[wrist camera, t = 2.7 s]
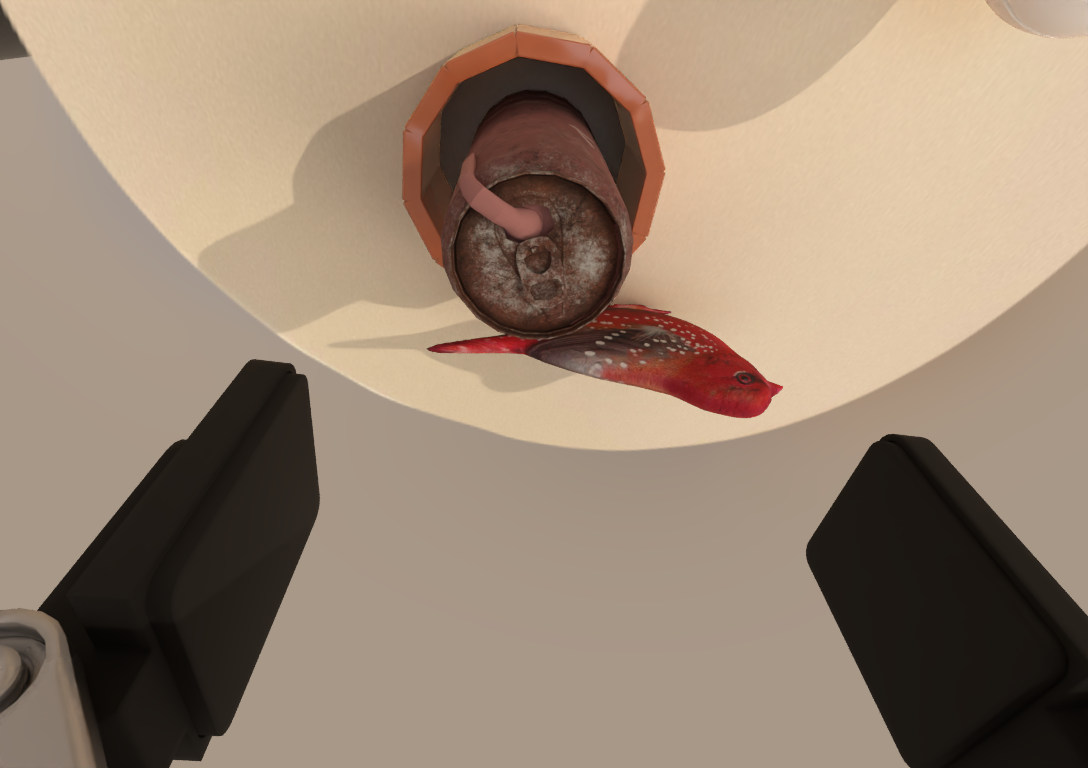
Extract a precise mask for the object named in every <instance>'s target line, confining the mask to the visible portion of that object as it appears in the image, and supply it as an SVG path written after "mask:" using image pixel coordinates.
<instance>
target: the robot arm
mask: <svg viewBox="0 0 1088 768" xmlns="http://www.w3.org/2000/svg"><path fill="white" fill-rule="evenodd" d="M319 495H320V494H319V486H318V476H317V466H316V456H315V447H314V437H313V427H312V418H311V408H310V398H309V389H308V381H307V378H306V376H305V375H303V374H296V370H295V368H294V366H293V365H292V364H290V363H282V362H273V361H264V360H256V359H253V360H250V361H249V362H248V363H246V365H245V366H244V367H243V368H242V370H241V371H240V372H239V374H238V375H237V376H236V378H235V379H234V380H233V381H232V383H231V384H230V385H229V387H228V388H227V389H226V390H225V392H224V393H223V394H222V395H221V397H220V398H219V399H218V400H217V402H216V403H215V405H214V406H213V407H212V408H211V409H210V411H209V412H208V413H207V415H206V416H205V417H204V419H203V420H202V421H201V422H200V424H199V425H198V426H197V427H196V429H195V430H194V431H193V433H192V434H191V435H190V436H189V438H188V439H187V440H183V439H182V440H180V441H177V442H175V443H174V444H173V445H172V446H170V447H169V449H167V450H166V452H165V453H164V454H163V455H162V456H161V458H160V459H159V460H158V461H157V463H156V464H155V465H154V466H153V468H152V469H151V470H150V471H149V473H148V474H147V475H146V476H145V478H144V479H143V480H142V481H141V482H140V484H139V485H138V486H137V487H136V489H135V490H134V491H133V492H132V494H131V495H130V496H129V497H128V499H127V500H126V501H125V502H124V504H123V505H122V506H121V507H120V509H119V510H118V511H117V512H116V514H115V515H114V516H113V517H112V518H111V520H110V521H109V522H108V523H107V525H106V526H105V527H104V528H103V530H102V531H101V532H100V533H99V535H98V536H97V537H96V538H95V539H94V541H93V542H92V543H91V544H90V546H89V547H88V548H87V549H86V551H85V552H84V553H83V554H82V556H81V557H80V558H79V559H78V560H77V562H76V563H75V564H74V565H73V567H72V568H71V569H70V570H69V572H68V573H67V574H66V575H65V577H64V578H63V579H62V581H61V582H60V583H59V584H58V585H57V587H56V588H55V589H54V590H53V592H52V593H51V594H50V595H49V597H48V598H47V599H46V600H45V601H44V603H43V604H42V605H41V606H40V608H39V609H38V610H37V611H35V610H28V609H21V608H18V609H9V610H0V768H169V767H170V765H171V763H172V760H189V761H201V760H202V758H203V756H204V753H205V751H206V749H207V746H208V744H209V742H210V739H211V737H212V736H222V735H223V734H224V733H225V732H226V731H227V729H228V728H229V726H230V724H231V722H232V720H233V718H234V715H235V713H236V711H237V708H238V706H239V703H240V701H241V698H242V696H243V694H244V691H245V689H246V686H247V684H248V682H249V679H250V677H251V674H252V672H253V669H254V667H255V665H256V662H257V660H258V658H259V655H260V653H261V650H262V648H263V645H264V643H265V641H266V638H267V636H268V633H269V631H270V629H271V626H272V624H273V621H274V619H275V617H276V614H277V612H278V609H279V607H280V605H281V602H282V600H283V597H284V595H285V593H286V590H287V588H288V585H289V583H290V580H291V578H292V576H293V573H294V571H295V568H296V566H297V564H298V561H299V559H300V556H301V554H302V551H303V549H304V547H305V544H306V542H307V540H308V537H309V535H310V532H311V530H312V527H313V525H314V522H315V520H316V517H317V513H318V510H319V501H320V496H319ZM806 557H807V562H808V564H809V567H810V569H811V571H812V573H813V575H814V577H815V579H816V581H817V583H818V585H819V587H820V589H821V591H822V593H823V595H824V597H825V599H826V602H827V604H828V606H829V608H830V610H831V612H832V614H833V616H834V618H835V620H836V622H837V624H838V626H839V628H840V630H841V633H842V635H843V637H844V639H845V641H846V643H847V645H848V647H849V649H850V651H851V653H852V655H853V657H854V659H855V661H856V664H857V665H858V668H859V670H860V672H861V674H862V676H863V678H864V680H865V682H866V684H867V686H868V688H869V690H870V692H871V695H872V697H873V699H874V701H875V703H876V704H877V707H878V709H879V711H880V713H881V715H882V717H883V719H884V721H885V723H886V725H887V728H888V730H889V731H890V734H891V736H892V738H893V740H894V742H895V744H896V746H897V748H898V750H899V752H900V754H901V756H902V758H903V759H904V761H905V762H906V763H907V765H908V766H909V767H910V768H1088V616H1087V615H1086V614H1085V613H1084V611H1082V609H1081V608H1080V607H1079V606H1078V605H1077V604H1076V602H1074V600H1073V599H1072V598H1071V597H1070V596H1069V595H1068V594H1067V592H1065V590H1064V589H1063V588H1062V587H1061V586H1060V585H1059V584H1058V582H1057V581H1056V580H1055V579H1054V578H1053V577H1052V576H1051V574H1050V573H1049V572H1048V571H1047V570H1046V569H1045V568H1044V567H1043V566H1042V564H1041V563H1040V562H1039V561H1038V560H1037V559H1036V558H1035V557H1034V556H1033V555H1032V553H1031V552H1030V551H1029V550H1028V549H1027V548H1026V547H1025V545H1024V544H1023V543H1022V542H1021V541H1020V540H1019V539H1018V538H1017V537H1016V535H1015V534H1014V533H1013V532H1012V531H1011V530H1010V529H1009V528H1008V526H1007V525H1006V524H1005V523H1004V522H1003V521H1002V520H1001V519H1000V518H999V517H998V515H997V514H996V513H995V512H994V511H993V510H992V509H991V507H990V506H989V505H988V504H987V503H986V502H985V501H984V500H983V499H982V497H981V496H980V495H979V494H978V493H977V492H976V491H975V490H974V488H973V487H972V486H971V485H970V484H969V483H968V482H967V481H966V480H965V478H964V477H963V476H962V475H961V474H960V473H959V472H958V471H957V469H956V468H955V467H954V466H953V465H952V464H951V463H950V462H949V461H948V459H947V458H946V457H945V456H944V455H943V454H942V453H941V452H940V450H939V449H938V448H937V447H936V446H935V445H934V444H933V443H932V442H931V441H930V440H928V439H926V438H923V437H915V436H907V435H898V434H888V435H886V436H884V437H882V438H881V439H880V441H877V442H875V443H873V444H872V445H871V446H870V447H869V449H868V451H867V452H866V454H865V455H864V457H863V458H862V460H861V461H860V463H859V465H858V466H857V468H856V469H855V471H854V472H853V474H852V476H851V477H850V479H849V480H848V482H847V483H846V485H845V486H844V488H843V489H842V491H841V492H840V494H839V496H838V497H837V499H836V500H835V502H834V503H833V505H832V507H831V508H830V510H829V511H828V513H827V514H826V516H825V517H824V519H823V520H822V522H821V523H820V525H819V527H818V528H817V530H816V531H815V533H814V534H813V536H812V538H811V539H810V541H809V542H808V545H807V549H806Z"/></svg>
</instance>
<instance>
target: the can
mask: <svg viewBox="0 0 1088 768" xmlns="http://www.w3.org/2000/svg"><path fill="white" fill-rule="evenodd" d="M633 242H634V239H633V234H632V229H631V224H630V219H629V214H628V210H627V208H626V206H625V204H624V202H623V199H622V197H621V195H620V193H619V191H618V188H617V186H616V184H615V182H614V180H613V178H612V175H611V173H610V171H609V169H608V167H607V164H606V162H605V160H604V158H603V156H602V154H601V151H600V149H599V147H598V145H597V143H596V140H595V138H594V136H593V134H592V132H591V130H590V128H589V126H588V124H587V123H586V121H585V119H584V117H583V116H582V114H581V112H580V111H579V110H577V109H576V108H575V107H574V106H573V105H572V104H571V103H569V102H568V101H567V100H566V99H565V98H562V97H560V96H558V95H555V94H553V93H550V92H548V91H538V90H524V91H521V92H518V93H515V94H512V95H509V96H506V97H505V98H503V99H502V100H501V101H499V102H498V103H497V104H496V105H494V106H493V107H492V108H490V110H489V111H488V113H487V114H486V116H485V117H484V119H483V120H482V122H481V123H480V125H479V126H478V129H477V131H476V134H475V137H474V139H473V142H472V145H471V147H470V150H469V153H468V155H467V158H466V160H465V161H464V162H463V164H462V169H461V174H460V177H459V179H458V182H457V184H456V187H455V190H454V192H453V195H452V198H451V200H450V203H449V206H448V209H447V213H446V217H445V221H444V224H443V228H442V232H441V247H442V262H443V266H444V268H445V271H446V273H447V276H448V278H449V280H450V283H451V285H452V288H453V290H454V291H455V293H456V294H457V295H458V296H459V297H460V299H461V300H462V301H463V302H464V303H465V304H466V306H467V307H468V308H469V309H470V310H471V312H472V313H473V314H474V315H475V316H476V318H478V319H479V320H481V321H483V322H484V323H486V324H487V325H489V326H490V327H492V328H493V329H495V330H496V331H498V332H501V333H504V334H508V335H511V336H514V337H518V338H521V339H547V340H548V339H552V338H556V337H560V336H564V335H568V334H571V333H574V332H576V331H577V330H579V329H581V328H582V327H584V326H586V325H588V324H589V323H591V322H593V321H594V320H595V319H596V318H597V317H598V316H599V315H600V314H601V313H602V312H603V311H604V310H605V309H606V308H607V307H608V306H609V304H610V303H611V302H612V301H613V299H614V298H615V297H616V295H617V294H618V292H619V290H620V288H621V286H622V284H623V282H624V280H625V278H626V276H627V274H628V272H629V270H630V264H631V257H632V249H633Z"/></svg>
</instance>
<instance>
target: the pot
mask: <svg viewBox="0 0 1088 768" xmlns="http://www.w3.org/2000/svg"><path fill="white" fill-rule="evenodd" d="M516 57H523V58H529V59H534V60H540V61H546V62H551V63H557V64H562V65H568V66H573V67H579V68H583V69H584V70H585V71H586V72H587V73H588V74H589V75H590V76H591V77H592V78H594V79H595V80H596V81H597V82H598V83H599V84H600V85H601V86H602V87H603V88H604V89H605V90H606V91H607V92H608V93H609V94H610V95H611V96H612V97H613V100H614V103H615V107H616V110H617V114H618V117H619V121H620V125H621V128H622V132H623V135H624V139H625V142H626V143H625V148H624V152H623V157H622V161H621V166H620V170H619V174H618V179H617V183H616V186H617V188H618V191H619V193H620V195H621V197H622V199H623V202H624V204H625V206H626V208H627V210H628V214H629V219H630V224H631V229H632V234H633V239H634V242H633V249H632V254H633V253H634V252H635V250H636V249H637V248H638V247H639V246H640V245H641V244H642V243H643V242H644V241H645V240H646V237H647V236H648V235H649V231H650V228H651V224H652V220H653V217H654V213H655V209H656V206H657V202H658V198H659V194H660V191H661V187H662V183H663V180H664V176H665V172H664V170H665V166H664V162H663V158H662V154H661V150H660V146H659V142H658V138H657V134H656V130H655V126H654V122H653V118H652V113H651V109H650V105H649V102H648V101H647V100H646V97H645V96H644V95H643V94H642V93H641V92H640V91H639V90H638V89H637V88H636V87H635V86H634V85H633V84H632V83H631V82H630V81H629V80H628V79H627V78H626V77H625V76H624V75H623V74H622V73H621V72H620V71H619V70H618V69H617V68H616V67H615V66H614V65H613V64H612V63H611V62H610V61H609V60H608V59H607V58H606V57H605V56H604V55H603V54H602V53H601V52H599V51H598V50H597V49H596V48H595V47H594V46H593V45H592V44H590V43H589V42H588V41H587V40H585V39H584V38H583V37H580V36H579V35H577V34H571V33H566V32H560V31H555V30H550V29H544V28H539V27H534V26H528V25H523V24H518V27H517V25H513V26H511V27H509V28H506V29H504V30H502V31H500V32H498V33H496V34H493V35H491V36H489V37H487V38H485V39H483V40H481V41H478V42H476V43H474V44H472V45H470V46H468V47H465V48H463V49H461V50H460V51H459V52H458V53H456V54H455V55H454V56H453V57H452V58H450V59H449V60H448V61H447V62H446V63H445V64H444V65H442V66H441V68H440V70H439V71H438V73H437V74H436V76H435V78H434V79H433V81H432V83H431V84H430V86H429V87H428V89H427V91H426V92H425V94H424V96H423V97H422V99H421V100H420V102H419V104H418V105H417V107H416V109H415V110H414V112H413V113H412V115H411V117H410V118H409V120H408V122H407V123H406V125H405V130H404V131H403V183H402V199H403V200H404V206H405V208H406V209H407V211H408V213H409V215H410V217H411V219H412V221H413V223H414V225H415V226H416V228H417V230H418V232H419V234H420V236H421V238H422V240H423V242H424V243H425V245H426V247H427V249H428V251H429V253H430V255H431V257H432V259H433V260H436V263H437V264H439V265H440V266H442V267H443V268H444V266H443V262H442V247H441V232H442V228H443V224H444V221H445V217H446V213H447V209H448V206H449V203H450V200H451V198H452V195H453V193H452V190H451V188H450V186H449V184H448V182H447V180H446V178H445V176H444V174H443V171H442V169H441V167H440V165H439V160H440V140H441V119H442V111H443V110H444V108H445V107H446V105H447V103H448V102H449V100H450V99H451V97H452V96H453V94H454V93H455V91H456V89H457V88H458V86H459V85H460V83H461V82H462V81H465V80H467V79H469V78H471V77H473V76H476V75H478V74H480V73H482V72H485V71H487V70H489V69H491V68H493V67H496V66H498V65H500V64H502V63H505V62H507V61H509V60H511V59H513V58H516ZM645 236H646V237H645Z"/></svg>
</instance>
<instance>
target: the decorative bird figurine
mask: <svg viewBox="0 0 1088 768" xmlns="http://www.w3.org/2000/svg"><path fill="white" fill-rule="evenodd" d="M668 313H671V312H670V311H662V310H656V309H649V308H647V307H645V306H643V305H631V304H629V305H620V304H615V305H612V306H608V307H607V308H606V309H605V310H604V311H603V312H602V313H601V314H600V315H599V316H598V317H597V318H596V319H595V320H594V321H593V322H591V323H589V324H588V325H586V326H584V327H582V328H581V329H579V330H577V331H576V332H574V333H571V334H568V335H564V336H560V337H556V338H552V339H548V340H547V339H521V338H518V337H514V336H511V335H508V334H505V335H499V336H491V337H483V338H476V339H471V340H463V341H456V342H451V343H443V344H437V345H435V346H432V347H430V348H427V350H429V351H432V352H437V353H517V354H525V355H528V356H530V357H533V358H535V359H538V360H540V361H542V362H545V363H548V364H551V365H554V366H557V367H560V368H563V369H566V370H569V371H572V372H576V373H580V374H583V375H586V376H590V377H594V378H598V379H602V380H607V381H612V382H616V383H621V384H627V385H632V386H636V387H640V388H645V389H649V390H653V391H657V392H661V393H665V394H668V395H671V396H674V397H676V398H679V399H681V400H683V401H685V402H687V403H689V404H691V405H694V406H696V407H698V408H700V409H703V410H706V411H709V412H713V413H717V414H721V415H725V416H730V417H736V418H751V417H755V416H758V415H760V414H762V413H763V412H764V411H765V410H766V409H767V407H768V406H769V404H770V402H771V398H772V397H773V396H774V395H776V394H777V393H778V392H779V391H780V390H782V389H783V386H780V385H777V384H775V383H772V382H769V381H767V380H766V379H765V378H764V377H763V376H762V375H761V374H760V373H759V372H758V371H757V369H756V368H755V367H754V366H753V365H752V364H750V363H749V362H748V361H747V360H745V359H744V358H742V357H741V356H739V355H738V354H737V353H735V352H734V351H733V350H732V349H731V348H730V347H728V346H727V345H726V344H725V343H724V342H723V341H721V340H720V339H719V338H717V337H716V336H714V335H713V334H711V333H709V332H708V331H706V330H704V329H702V328H700V327H698V326H696V325H693V324H691V323H689V322H687V321H684V320H681V319H678V318H675V317H672V316H668V315H665V314H668Z"/></svg>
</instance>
